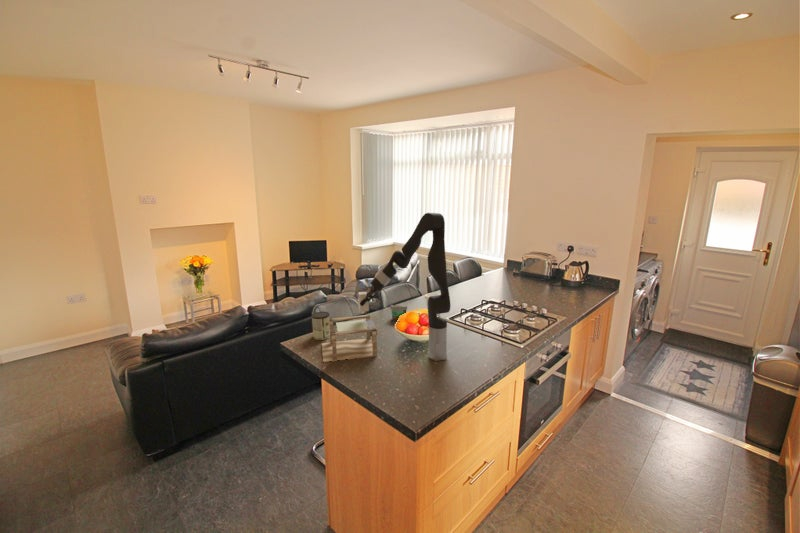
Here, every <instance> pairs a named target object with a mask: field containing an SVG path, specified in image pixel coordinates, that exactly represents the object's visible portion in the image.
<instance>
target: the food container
mask: <svg viewBox="0 0 800 533" xmlns="http://www.w3.org/2000/svg"><path fill="white" fill-rule="evenodd" d="M389 309H390V310H391V311H390V313H391V320H392V319H393V320H392V321H394V322H398V321H397V320H398V318H399V316H400V315H402V314H404V313H406V314H407V310H408V306H407V305H405V306H402V305H393V303H391V304H390V305H389Z"/></svg>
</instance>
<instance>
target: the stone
mask: <svg viewBox="0 0 800 533" xmlns="http://www.w3.org/2000/svg"><path fill="white" fill-rule="evenodd" d="M357 294H358V311H359V312H360V313H363V312H370V308H369V307H370V306H369V305H370V304H369V303H370V301H369V302H368V301H367V302H366V303H365V304H364V305H363V306H361V305H360V302H361V301H362V300H363V299H364V298H365V297H366V294H367V292H365V291H359V292H358V293H357Z"/></svg>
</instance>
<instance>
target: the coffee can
mask: <svg viewBox="0 0 800 533" xmlns="http://www.w3.org/2000/svg"><path fill="white" fill-rule="evenodd" d="M329 319H330V312H328V311H316V312H313V313H312V314H311V321H312V334H313V339H314V340H317V341H319V340H320V341H321V340H322V341H323V340H327V339H330V325H329Z"/></svg>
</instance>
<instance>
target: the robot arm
mask: <svg viewBox="0 0 800 533" xmlns="http://www.w3.org/2000/svg"><path fill="white" fill-rule="evenodd" d="M445 221H446V220H445V217H444V215H443V214H442V213H439V212H426V213H424V214H423V216H421V218H420V220H419V222H418V223H417V226H416V227H415V228H414V231H413V233H412V234H411V236H410V237H409V239H408V240H407V241H406V242H405V243H404V245H403V246H402V248H401V250H396V251H394V252H393V253H392V255H391V257H390V260H389V261H388V262H387V264H386V265H385V266H384V268H383V269H382V270H380V272H379V273H378V274H376V276H375V277H374V278H373V279H372V280H371V281H370V285H368V286H367V288H366V289H365V290H364V292H367V294H366V297H365V298H364V299H363V300H362V301H361V302H360V305H361V306H363V305H364V304H365V303H366V302H367V301H368V302H369V303H370V301H371V300H373V298H374V297H376V296H377V294H376V293H377V292H381V291H382V290H384V289H385V287H386V286H387V285H388V284H389V282H391V280H392V279H393V277H395V275H396V274H397V272H398V271H397V269H396V268H395V267H394V263H395V265H397V266H398V267H399V268H400V269H402V270H403V269H405V268H407V267H408V266H409V264H410V262H411V260H412V258H413V255H414V254H415V253H416V252H417V251H418V250H419V248H420V246H421V243H422V239H423V237H424V235H425V234H427V233H428V232H432V243H431V246H430V249H429V251H428V254H427V268H428V272H429V274H430V276H431V277H432V279H434V281H435V283H437V285H438V288H439V290H440V291H439V293H440V294H441V295H437V296H430V297H429V299H428V311H427V317H428V358H429V359H430V360H433V361H434V362H439V361H445V360H447V352H448V351H447V346H448V345H447V343H448V339H447V338H448V337H447V336H448V335H447V332H448V321H447V320H446V319H445V318H443V317H441V316H440V317H437V314H440V315H441V314H448V313H449V312H450V310H451V296H450V291H449V284H448V272H447V259H446V246H445V245H446V244H445V241H446V240H445V237H446V236H445V234H446V233H445V232H446V230H445V226H446V222H445Z"/></svg>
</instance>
